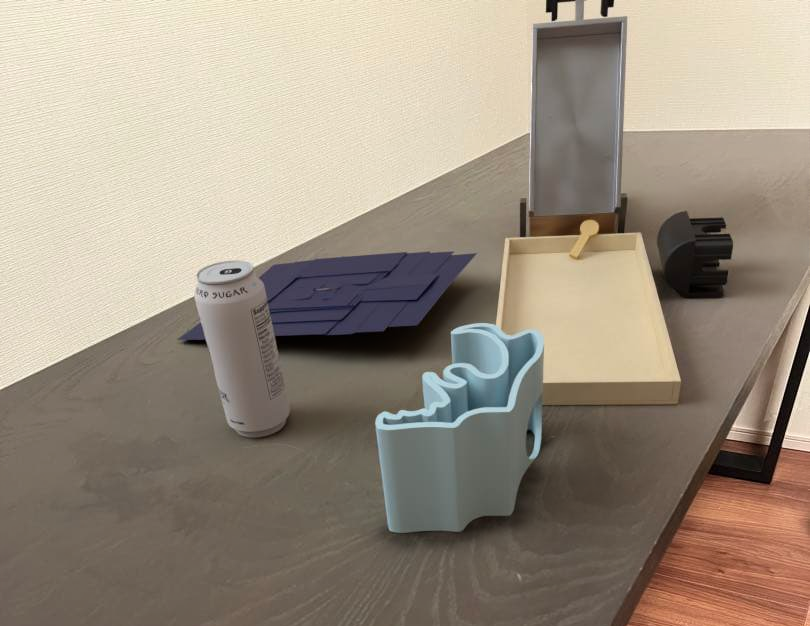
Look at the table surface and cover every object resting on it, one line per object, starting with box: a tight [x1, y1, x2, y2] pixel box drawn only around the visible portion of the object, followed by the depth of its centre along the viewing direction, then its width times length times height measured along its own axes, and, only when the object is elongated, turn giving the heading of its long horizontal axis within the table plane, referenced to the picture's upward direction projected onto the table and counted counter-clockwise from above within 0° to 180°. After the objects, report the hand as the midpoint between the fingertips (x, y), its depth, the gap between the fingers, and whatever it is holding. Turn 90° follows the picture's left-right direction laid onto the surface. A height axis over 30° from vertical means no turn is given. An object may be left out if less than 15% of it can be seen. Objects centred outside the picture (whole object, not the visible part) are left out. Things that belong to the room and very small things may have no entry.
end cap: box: [656, 210, 734, 299], centre depth 91 cm, size 10×7×7 cm
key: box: [569, 220, 599, 259], centre depth 101 cm, size 6×2×1 cm
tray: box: [495, 232, 682, 406], centre depth 88 cm, size 17×39×2 cm, turn 172°
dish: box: [528, 0, 628, 218], centre depth 98 cm, size 11×26×3 cm
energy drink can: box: [193, 259, 291, 438], centre depth 71 cm, size 6×6×15 cm
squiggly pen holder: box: [374, 322, 544, 534], centre depth 64 cm, size 18×10×9 cm, turn 162°
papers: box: [177, 250, 478, 341], centre depth 95 cm, size 24×30×4 cm
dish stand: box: [519, 192, 628, 237], centre depth 111 cm, size 14×19×6 cm
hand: (578, 15), depth 96 cm, fingers closed on dish, 5 cm apart
